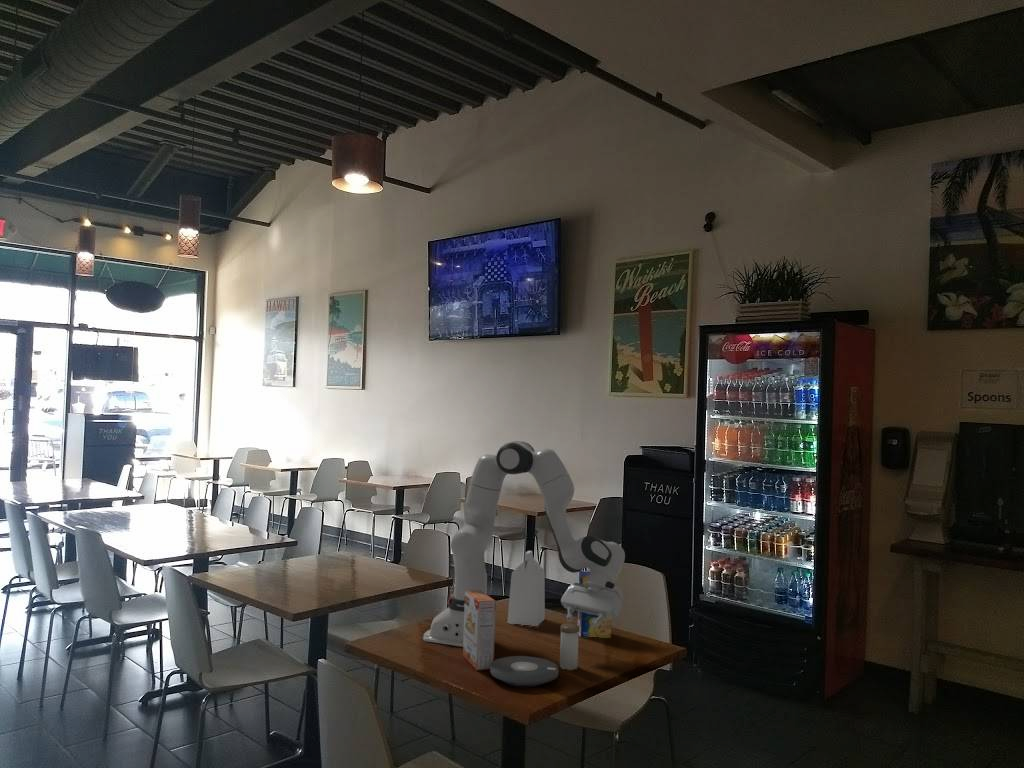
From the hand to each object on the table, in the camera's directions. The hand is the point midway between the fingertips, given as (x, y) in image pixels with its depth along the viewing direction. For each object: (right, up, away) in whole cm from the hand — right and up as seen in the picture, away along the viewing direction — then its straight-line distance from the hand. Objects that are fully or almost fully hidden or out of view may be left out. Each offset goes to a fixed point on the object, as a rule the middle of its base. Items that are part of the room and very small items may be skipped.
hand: (581, 623), depth 240 cm
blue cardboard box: (+7, -14, +31) cm, 35 cm away
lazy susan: (-18, -9, -17) cm, 27 cm away
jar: (-4, -12, -6) cm, 14 cm away
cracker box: (-33, -11, -5) cm, 35 cm away
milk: (-17, -14, +46) cm, 51 cm away
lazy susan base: (-18, -11, -18) cm, 28 cm away
